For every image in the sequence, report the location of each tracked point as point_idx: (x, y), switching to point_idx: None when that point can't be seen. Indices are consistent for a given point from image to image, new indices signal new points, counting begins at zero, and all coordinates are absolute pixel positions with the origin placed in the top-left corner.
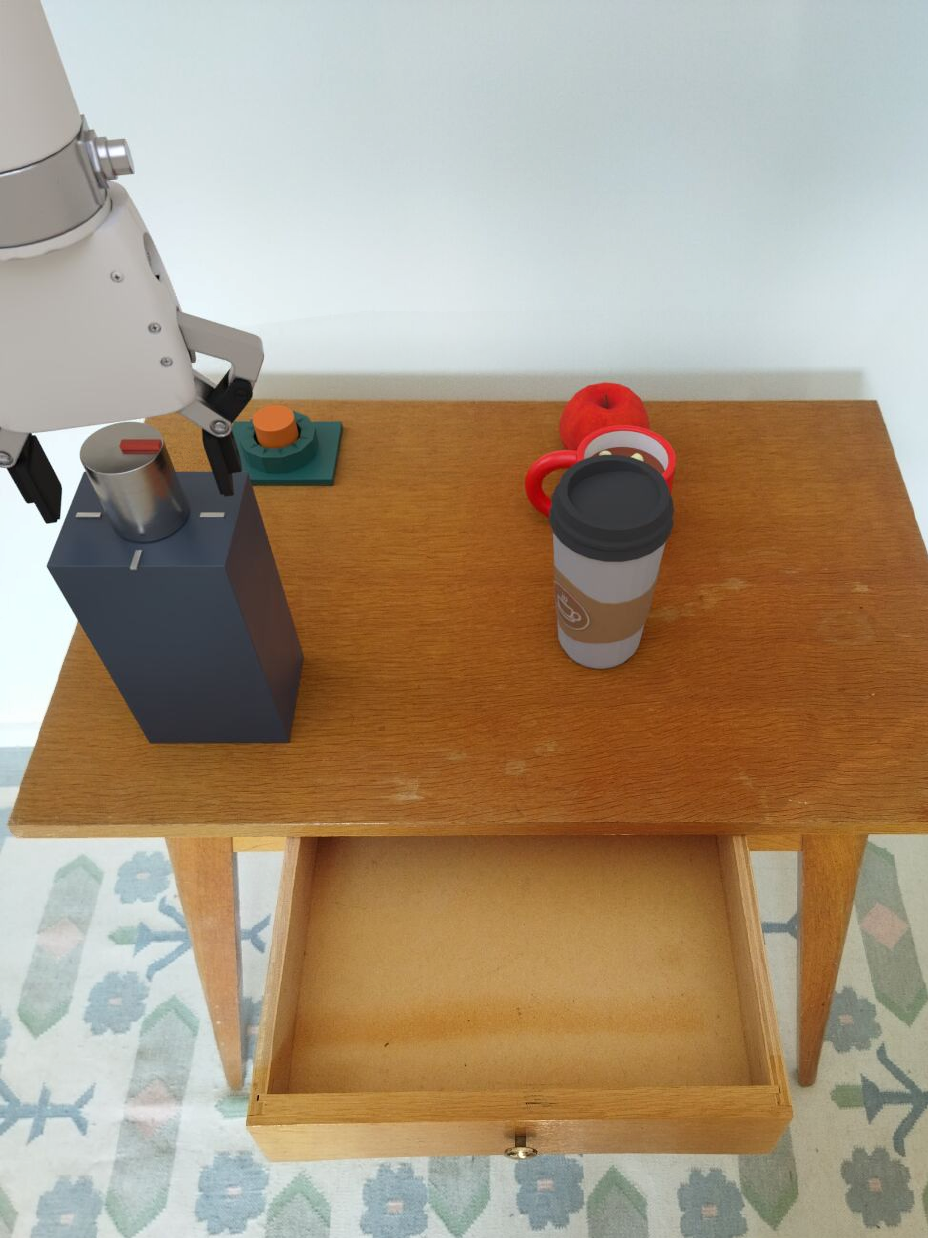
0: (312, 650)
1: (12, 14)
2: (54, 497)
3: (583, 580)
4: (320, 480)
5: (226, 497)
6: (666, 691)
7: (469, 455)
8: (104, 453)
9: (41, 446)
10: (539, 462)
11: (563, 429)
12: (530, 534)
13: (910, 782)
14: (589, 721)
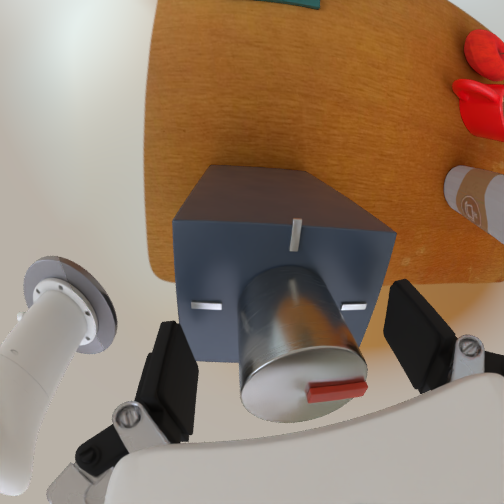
0: (311, 166)
1: None
2: (190, 367)
3: (494, 235)
4: (310, 6)
5: (370, 276)
6: (468, 223)
7: (407, 15)
8: (282, 403)
9: (167, 375)
10: (480, 88)
11: (476, 49)
12: (441, 95)
13: (500, 270)
14: (440, 237)
